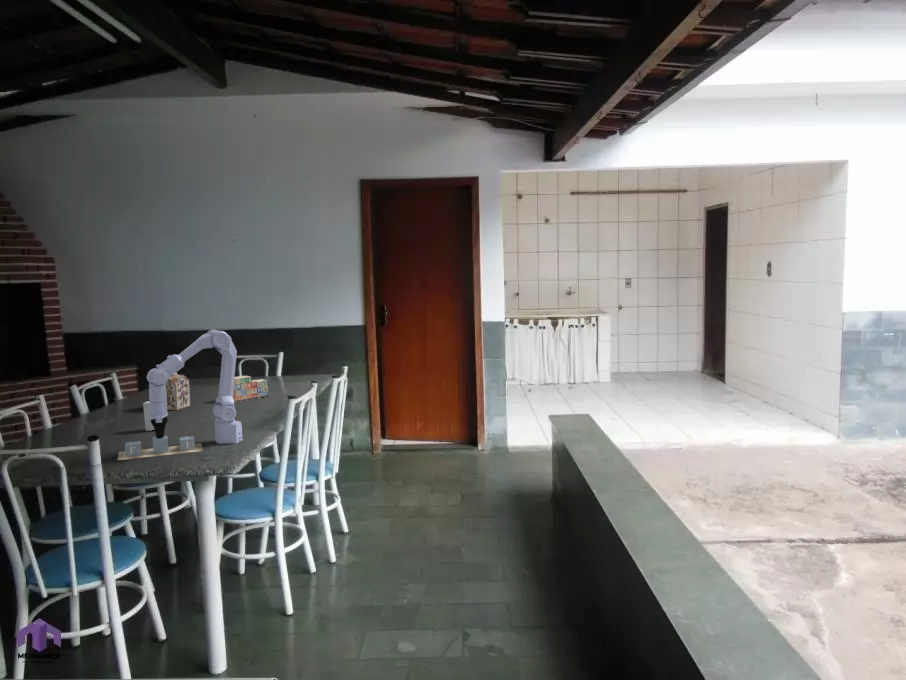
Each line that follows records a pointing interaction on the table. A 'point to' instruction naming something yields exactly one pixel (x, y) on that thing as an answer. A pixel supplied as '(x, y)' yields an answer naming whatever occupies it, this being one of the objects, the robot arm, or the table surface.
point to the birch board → (150, 453)
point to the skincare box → (147, 419)
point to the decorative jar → (177, 392)
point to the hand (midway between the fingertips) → (160, 438)
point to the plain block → (160, 445)
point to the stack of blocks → (249, 388)
